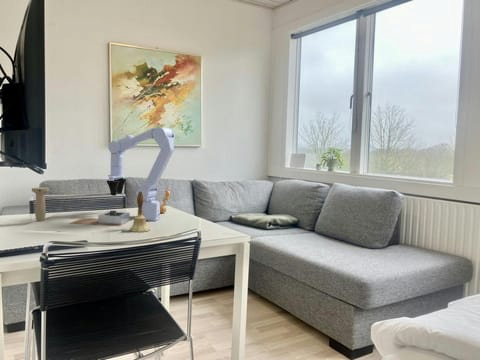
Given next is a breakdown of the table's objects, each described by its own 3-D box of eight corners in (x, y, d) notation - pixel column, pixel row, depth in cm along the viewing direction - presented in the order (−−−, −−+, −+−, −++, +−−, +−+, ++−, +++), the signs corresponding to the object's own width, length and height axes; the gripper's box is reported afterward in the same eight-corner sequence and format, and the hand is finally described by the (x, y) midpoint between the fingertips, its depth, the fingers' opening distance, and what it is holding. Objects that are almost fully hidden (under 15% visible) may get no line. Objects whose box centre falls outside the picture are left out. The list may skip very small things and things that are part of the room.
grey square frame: (129, 220, 179) (129, 212, 178) (121, 224, 169) (121, 216, 169) (107, 219, 179) (107, 211, 179) (98, 223, 170) (98, 215, 169)
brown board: (130, 222, 179) (130, 209, 179) (120, 228, 166) (120, 214, 166) (82, 219, 180) (82, 206, 180) (68, 225, 167) (68, 211, 167)
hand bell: (127, 228, 167) (128, 190, 166) (147, 227, 171) (148, 190, 169) (131, 232, 160) (131, 193, 158) (151, 231, 163) (152, 192, 162)
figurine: (156, 211, 208) (157, 188, 207) (167, 211, 211) (168, 188, 210) (160, 214, 201) (161, 190, 200) (172, 214, 204) (172, 190, 202)
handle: (48, 223, 170) (48, 188, 168) (31, 224, 167) (31, 188, 166) (49, 221, 174) (49, 187, 173) (32, 222, 172) (32, 187, 170)
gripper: (114, 165, 198) (114, 192, 200) (102, 166, 184) (102, 196, 185) (128, 165, 198) (127, 192, 199) (117, 167, 184) (117, 196, 185)
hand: (116, 194), depth 192 cm, fingers open, 7 cm apart
